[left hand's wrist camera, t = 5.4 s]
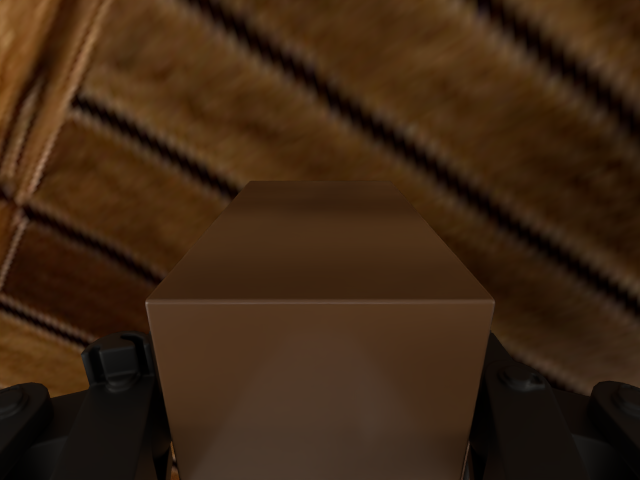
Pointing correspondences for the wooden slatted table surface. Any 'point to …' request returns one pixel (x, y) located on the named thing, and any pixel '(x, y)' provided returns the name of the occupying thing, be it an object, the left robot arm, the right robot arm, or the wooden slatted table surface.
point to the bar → (320, 340)
